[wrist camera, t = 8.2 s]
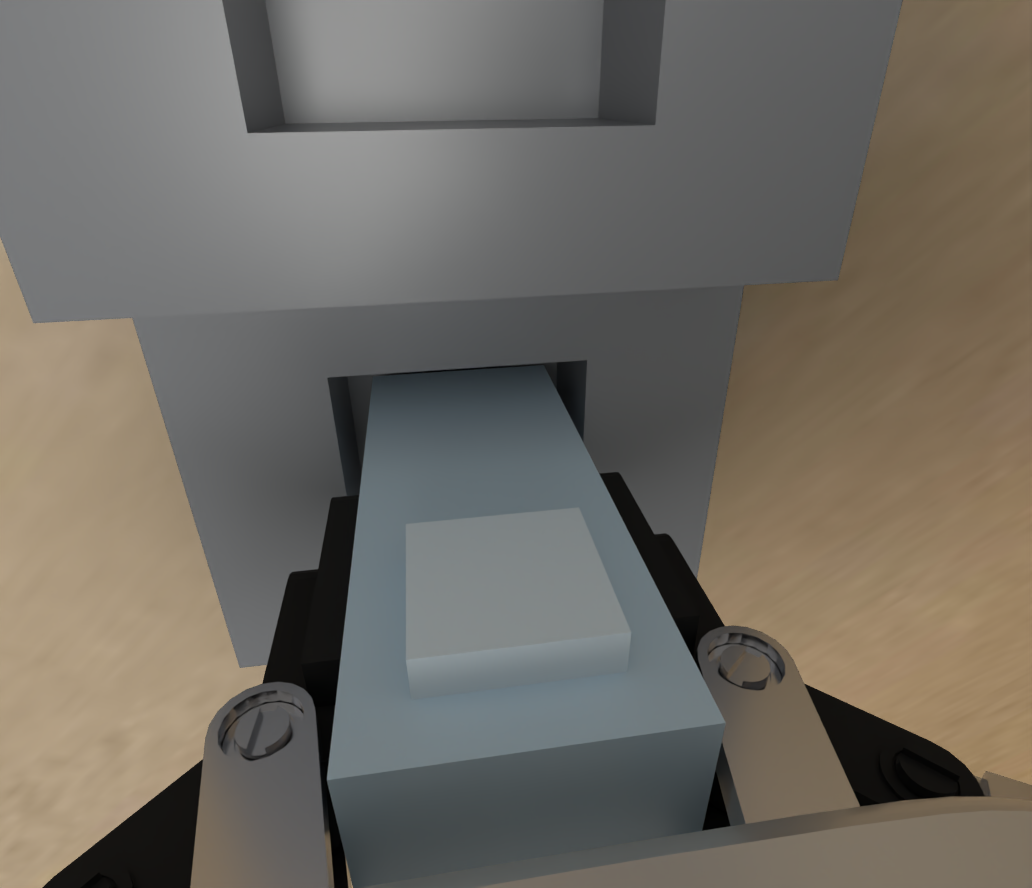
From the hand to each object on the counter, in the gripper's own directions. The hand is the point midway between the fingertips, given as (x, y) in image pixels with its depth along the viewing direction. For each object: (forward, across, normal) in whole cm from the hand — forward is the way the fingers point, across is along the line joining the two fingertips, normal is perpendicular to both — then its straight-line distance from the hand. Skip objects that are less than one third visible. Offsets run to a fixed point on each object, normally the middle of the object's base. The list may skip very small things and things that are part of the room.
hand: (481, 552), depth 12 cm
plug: (+4, 0, 0) cm, 4 cm away
